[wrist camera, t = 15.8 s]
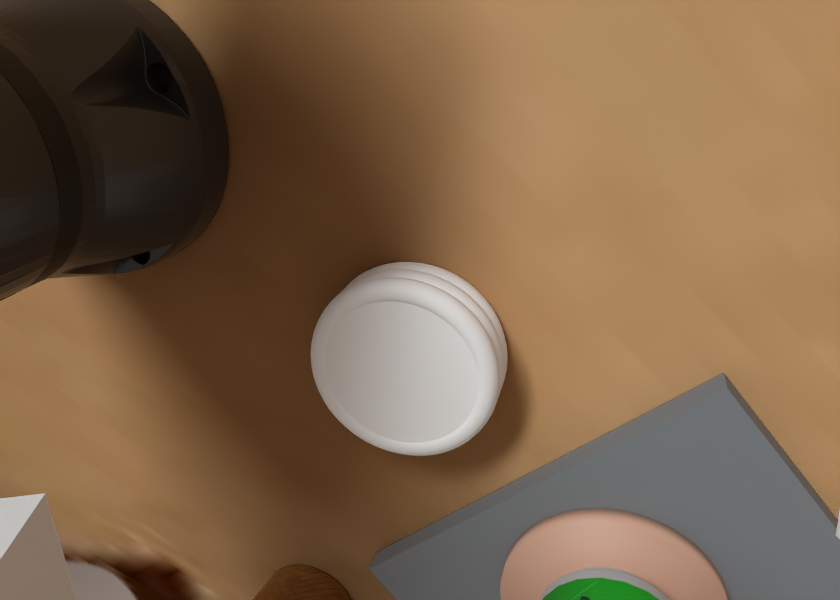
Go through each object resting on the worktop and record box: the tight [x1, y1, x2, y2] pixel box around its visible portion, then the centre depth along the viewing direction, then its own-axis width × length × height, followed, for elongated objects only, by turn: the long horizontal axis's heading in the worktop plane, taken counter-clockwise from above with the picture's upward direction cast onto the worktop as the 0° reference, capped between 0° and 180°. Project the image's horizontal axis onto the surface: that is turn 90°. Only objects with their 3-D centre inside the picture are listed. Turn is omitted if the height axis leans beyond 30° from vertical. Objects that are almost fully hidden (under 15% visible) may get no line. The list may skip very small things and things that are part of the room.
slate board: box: [369, 373, 840, 600], centre depth 38 cm, size 24×16×2 cm, turn 130°
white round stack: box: [311, 262, 508, 456], centre depth 36 cm, size 10×10×4 cm
